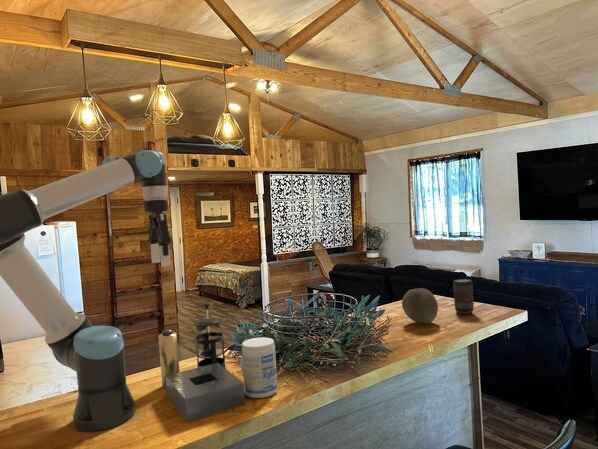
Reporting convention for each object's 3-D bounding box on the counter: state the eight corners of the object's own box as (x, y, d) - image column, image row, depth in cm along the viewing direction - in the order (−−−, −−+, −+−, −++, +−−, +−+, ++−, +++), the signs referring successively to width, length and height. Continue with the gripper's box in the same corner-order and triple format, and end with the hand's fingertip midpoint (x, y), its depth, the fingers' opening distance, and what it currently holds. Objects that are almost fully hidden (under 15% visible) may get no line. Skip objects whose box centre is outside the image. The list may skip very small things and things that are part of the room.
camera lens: (475, 312, 194) (474, 279, 194) (472, 316, 188) (470, 282, 187) (457, 310, 199) (455, 278, 198) (452, 315, 192) (451, 281, 191)
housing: (186, 422, 109) (185, 399, 109) (167, 395, 127) (165, 375, 126) (245, 404, 117) (243, 382, 117) (219, 381, 135) (217, 362, 134)
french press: (230, 373, 140) (225, 303, 140) (201, 380, 136) (195, 308, 136) (220, 363, 151) (215, 297, 150) (193, 368, 147) (188, 302, 146)
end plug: (164, 390, 130) (160, 334, 130) (160, 385, 135) (156, 330, 134) (182, 386, 133) (178, 330, 132) (177, 380, 138) (173, 327, 137)
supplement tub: (270, 400, 119) (266, 348, 118) (239, 398, 122) (235, 346, 121) (282, 386, 128) (279, 337, 127) (253, 384, 131) (249, 336, 130)
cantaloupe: (425, 317, 191) (423, 284, 190) (445, 325, 178) (443, 289, 177) (397, 322, 187) (395, 287, 186) (416, 330, 173) (414, 293, 173)
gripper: (177, 197, 133) (182, 265, 133) (158, 201, 154) (163, 260, 155) (152, 198, 129) (157, 269, 130) (136, 202, 150) (141, 262, 151)
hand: (160, 264), depth 142 cm, fingers open, 13 cm apart
